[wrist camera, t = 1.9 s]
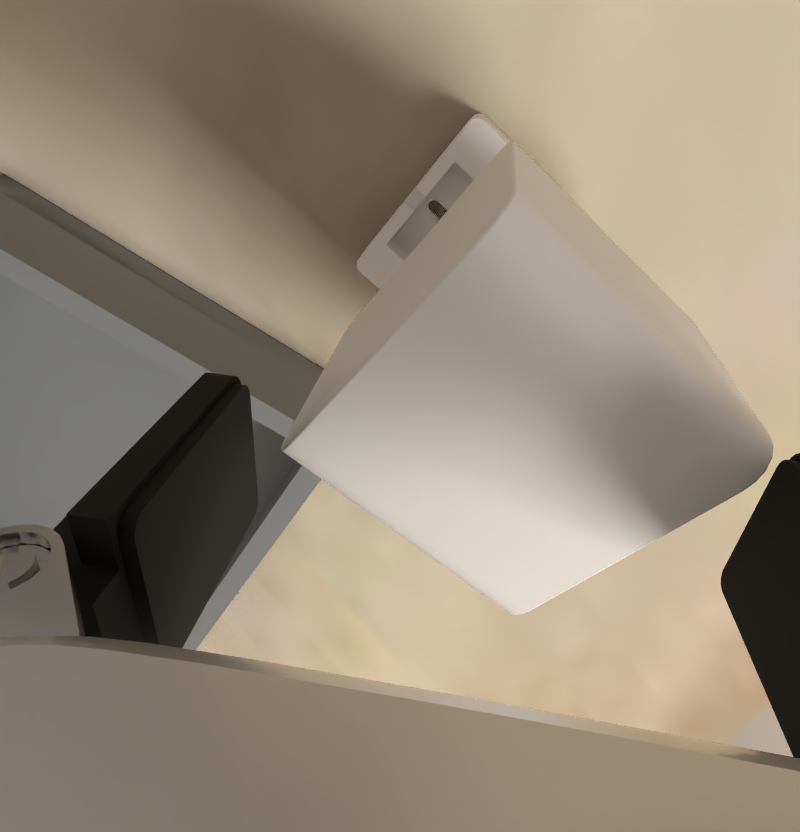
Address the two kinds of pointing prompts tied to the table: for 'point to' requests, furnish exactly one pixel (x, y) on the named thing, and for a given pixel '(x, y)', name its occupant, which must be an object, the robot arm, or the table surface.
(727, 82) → the table surface
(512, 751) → the robot arm
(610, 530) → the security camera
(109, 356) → the parts tray
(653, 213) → the table surface
